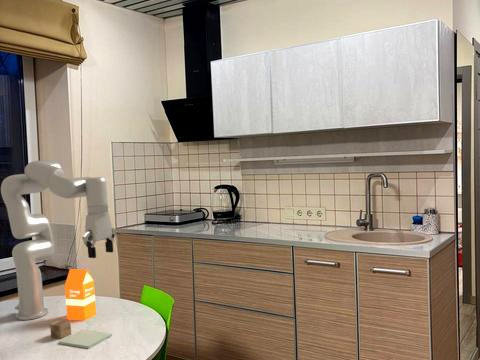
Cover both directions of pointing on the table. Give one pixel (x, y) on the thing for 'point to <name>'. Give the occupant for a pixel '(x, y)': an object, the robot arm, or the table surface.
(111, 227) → the robot arm
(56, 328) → the walnut cube
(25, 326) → the table surface
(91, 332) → the sage board
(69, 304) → the orange juice
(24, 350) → the table surface
